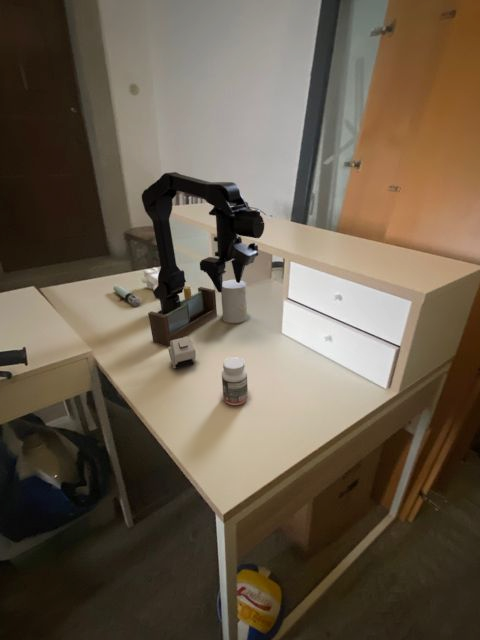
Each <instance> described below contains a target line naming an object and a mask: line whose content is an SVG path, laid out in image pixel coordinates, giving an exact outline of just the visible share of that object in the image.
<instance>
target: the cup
mask: <svg viewBox="0 0 480 640" xmlns="http://www.w3.org/2000/svg"><path fill="white" fill-rule="evenodd" d="M220 295H221V308H222V309H221V310H222V320H223V321H224V322H225V323H230V324H239V323H244V322H245V321H247V319H248V306H247V304H248V302H247V301H248V300H247V299H248V298H247V282H246V281H245V280H242V279H241V281H240V283H237V282H236V279H228V280H223V281H222V292H220Z"/></svg>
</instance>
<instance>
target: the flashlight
mask: <svg viewBox="0 0 480 640" xmlns="http://www.w3.org/2000/svg"><path fill="white" fill-rule="evenodd" d="M112 289H113V291H114V292H115V293H116V294H117V295H118V296H119V297H120V298H119V301H122V300H125V301H126V302H128V303H129V304H130V305H131V306H133V307H134V308H135V307H139V306H140V305H141V303H142V302H141V299H140V298H139V297H137V296H136V295H134V294H133V293H131V292H130V291H128V290H127V289H125V288H123V287H121V286H119V285H114V286H113V287H112Z"/></svg>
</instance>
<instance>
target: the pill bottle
mask: <svg viewBox="0 0 480 640" xmlns="http://www.w3.org/2000/svg"><path fill="white" fill-rule="evenodd" d="M245 365H246V364H245V360H244V359H243V358H241V357H236V356H231V357H227V358H226V359H224V361H223V362H222V369H223V370H222V371H221V381H222V382H221V385H222V397H223V401H224V402H225V403H227V404H228V405H231V406H238V405H242V404H244V403H245V402H246V401H247V400H248V397H249V393H248V392H249V390H248V372H247V369H246V368H245V367H246V366H245Z"/></svg>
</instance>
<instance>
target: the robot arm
mask: <svg viewBox="0 0 480 640" xmlns="http://www.w3.org/2000/svg"><path fill="white" fill-rule="evenodd" d="M178 192H180V193H185V194H188V195H191V196H195V197H198V198H201V199H203V200H205V201H206V202H207V203H208V204H209V205H210V206H213V207H212V209H211V210H210V211H209V212H208V215H209V216H215V224H216V226H215V227H216V236H214V237H213V241H214V242H216V243H217V244H216V245H217V251H215V252H214V257H213V256H208V257H206V258H204V259H201V260H200V262H199V270H200V271H201V272H203V273H205V274H207V276H208V277H209V278H210V280H211V282H212V283H213V285H214V287H215V289H216V290H217V292H218V293H221V292H222V282H223V276H224V275H225V274H226V272H227V271H226V264H228V263H230V262H231V266H232V272H233V274H234V277H235V279H234V280H236V282H237V283H240V281H241V280H242V278H243V274H244V271H245V268H246V267H247V266H249V265H250V264H253V263H254V262H255V259H256V257H258V256H259V246H258V243H256V242H254V241H253V242H251V243H249V244H248V243H246V244H244V243H243V240H242V237H245V238H252V239H260V238H261V237H262V236H263V234H264V231H265V222H264V218H263V216H262V215H261V210H260V209H250V208H249V206H248V205H247V203H246V201H245V199H244V197H243V196H242V194H241V191H240V189H239V187H238V184H236V182H233V181H232V182H231V181H207V180H204V179H199V178H196V177H192V176H188V175H185V174H180V173H179V172H176V171H172V172H164V173H163V174H162V175H161V176H160V177H159V179H157V180H156V181H154V182H153V183H152V184H150V185H149V186H148V187H147V188H145V189H144V190H143V192H142V193H141V203H142V205H143V208H144V212H145V213H146V214H147V216H148V218H150V220H151V222H152V227H153V231H154V237H155V238H154V239H155V242H156V249H157V254H158V258H159V265H160V269H159V270H158V272H159V275H158V286H157V288H156V289H155V290H153V291H152V294H153V296H154V298H155V299H158V300H159V302H160V310H158V312H157V313H160V314H163V315H166V314H168V313H170V312H171V311H173V310H175V309H177V308H179V307H181V303H180V301H181V299H180V295H181V294H182V293H184V289H183V288H184V287H186V283H187V280H186V277H185V271H184V270H183V269H182V270H181V269H180V268H179V267H178V265H177V261H176V254H175V248H174V241H173V236H172V229H171V223H170V217H171V213H172V212H173V200H174V199H175V197H176V196H177V195H178ZM217 257H218V258H217ZM179 294H180V295H179Z"/></svg>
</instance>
